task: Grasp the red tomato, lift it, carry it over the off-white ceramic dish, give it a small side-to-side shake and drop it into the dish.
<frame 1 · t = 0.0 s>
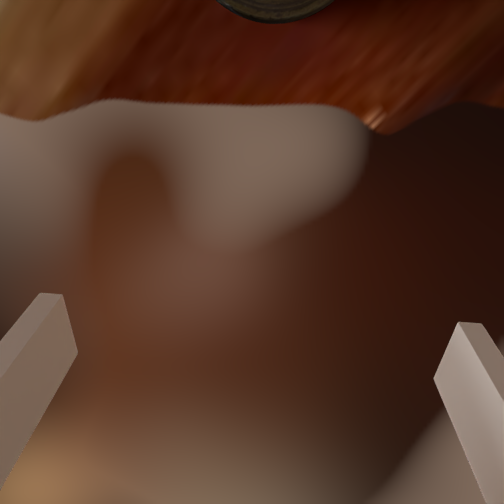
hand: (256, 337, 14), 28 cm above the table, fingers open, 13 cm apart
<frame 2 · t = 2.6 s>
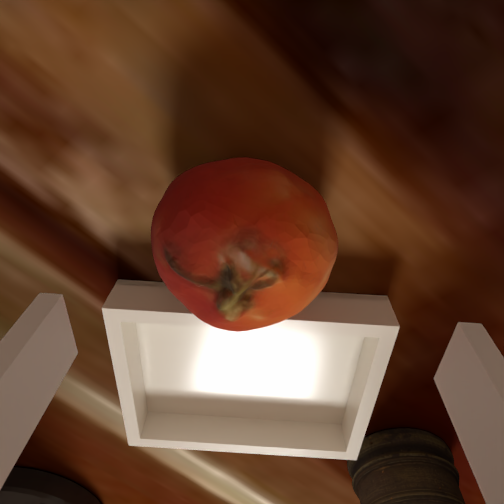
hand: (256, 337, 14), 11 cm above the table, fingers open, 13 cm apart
dish: (247, 361, 30), on the table
tomato: (248, 210, 24), on the table
container: (396, 454, 36), on the table
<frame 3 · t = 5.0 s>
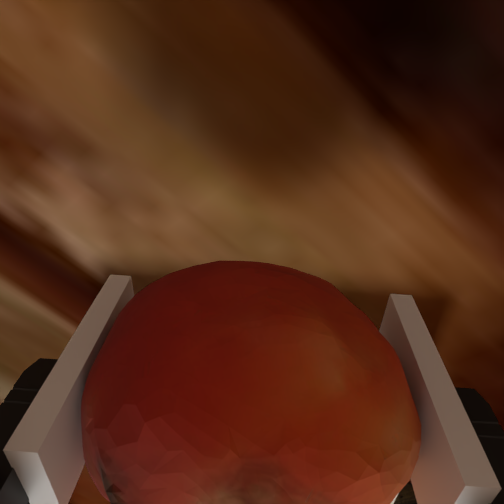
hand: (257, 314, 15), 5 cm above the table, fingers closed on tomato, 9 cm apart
tomato: (256, 317, 15), point 5 cm above the table, touching gripper
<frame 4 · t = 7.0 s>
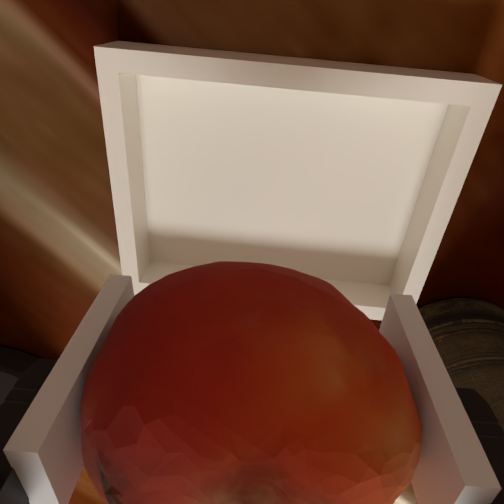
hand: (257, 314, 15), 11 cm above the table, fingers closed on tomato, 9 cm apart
dish: (278, 186, 24), on the table
tomato: (256, 317, 15), point 11 cm above the table, touching gripper
container: (448, 340, 30), on the table
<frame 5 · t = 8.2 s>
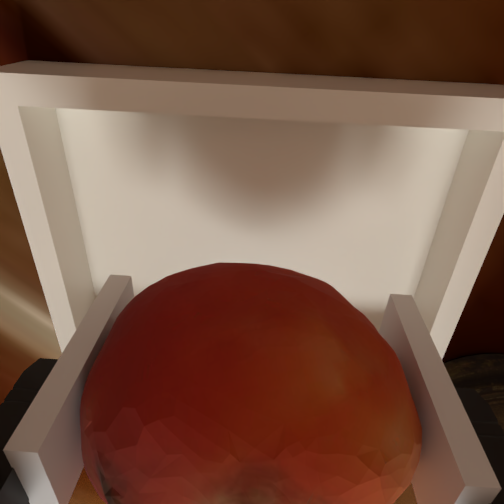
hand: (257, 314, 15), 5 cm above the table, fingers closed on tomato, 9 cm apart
dish: (254, 233, 19), on the table
tomato: (256, 318, 15), point 5 cm above the table, touching gripper
container: (472, 399, 24), on the table
when the fingers open (3 cm above the table, at t = 9.0 s): tomato drops 2 cm, resting on dish.
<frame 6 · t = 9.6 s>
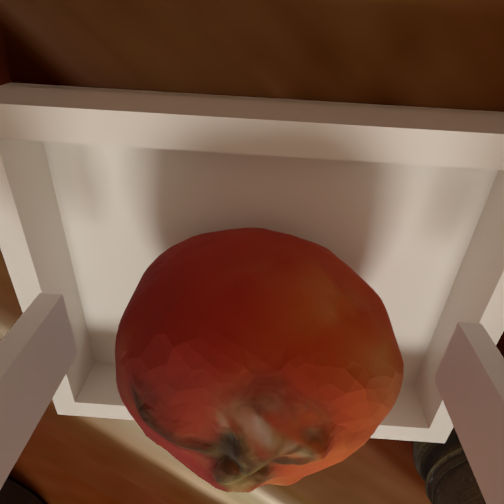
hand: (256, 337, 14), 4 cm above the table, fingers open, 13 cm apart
dish: (260, 267, 17), on the table
tomato: (262, 285, 17), resting on dish
container: (490, 437, 23), on the table
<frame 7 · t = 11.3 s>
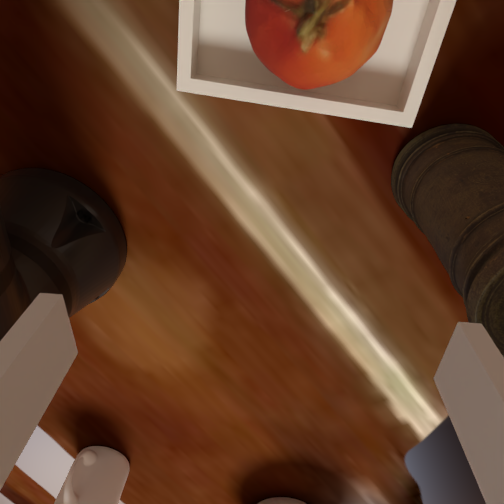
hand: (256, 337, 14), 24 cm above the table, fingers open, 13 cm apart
dish: (312, 0, 29), on the table
mug: (102, 452, 63), on the table
tomato: (312, 10, 29), resting on dish
container: (442, 172, 35), on the table
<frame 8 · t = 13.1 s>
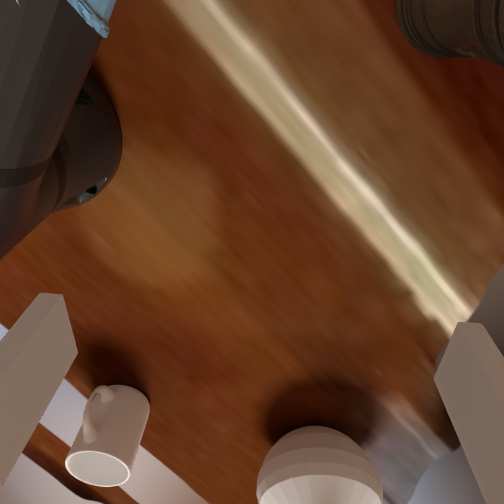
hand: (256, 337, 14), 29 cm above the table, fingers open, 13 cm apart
mug: (120, 392, 61), on the table
vase: (314, 442, 65), on the table
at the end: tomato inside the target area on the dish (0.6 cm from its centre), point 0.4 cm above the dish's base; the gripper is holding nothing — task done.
